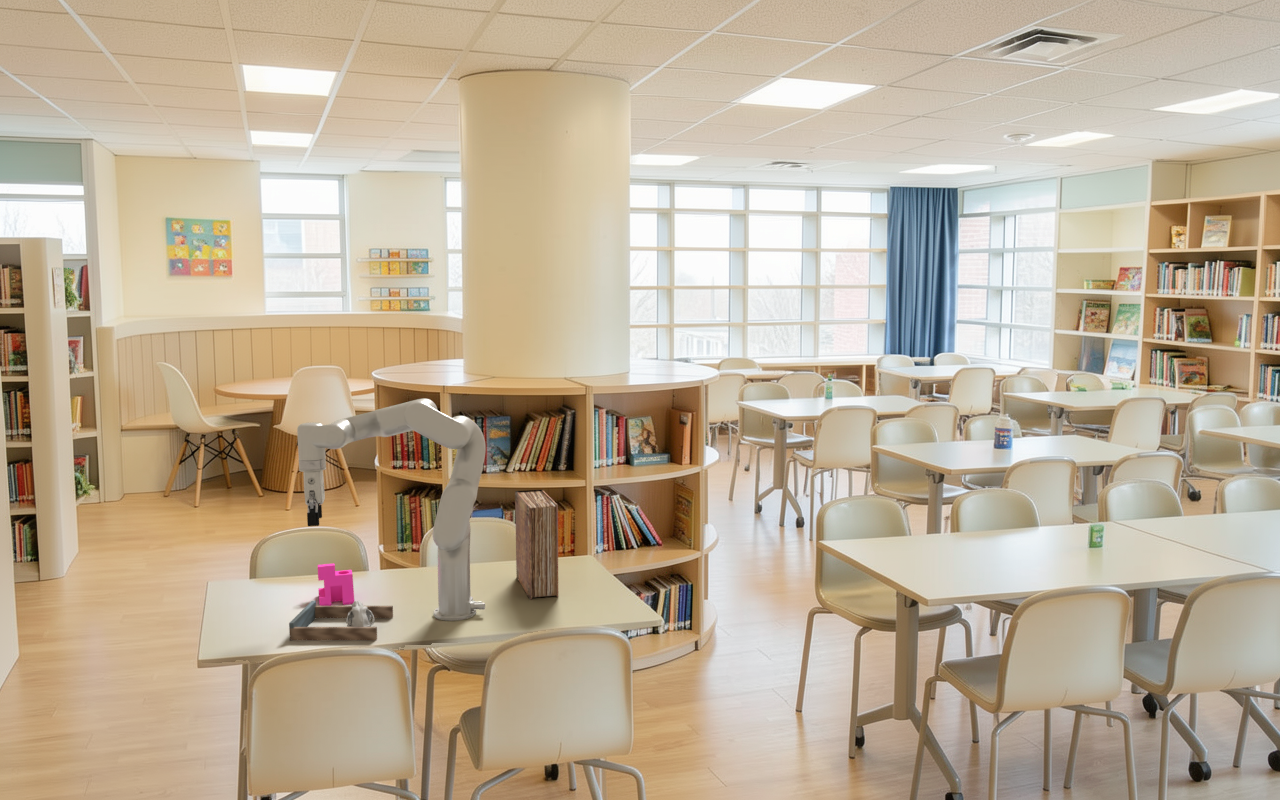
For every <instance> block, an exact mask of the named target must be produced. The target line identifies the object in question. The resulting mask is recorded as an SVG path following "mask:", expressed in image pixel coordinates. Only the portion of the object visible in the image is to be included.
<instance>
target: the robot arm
mask: <svg viewBox="0 0 1280 800" xmlns="http://www.w3.org/2000/svg"><path fill="white" fill-rule="evenodd" d="M296 430H297V431H296V433H297V449H298V451H297V452H298V471H299V472H301V473H302V472H303V493H304V501H305V502H304V503H305V505H307V512H306V521H307V527H318V526H320V519H322V518H323V509H322V508H323V504H324V501H325V499H326V495H325V494H326V493H325V481H324V480H325V479H324V478H325V477H324V471H325V470H326V469H327V460H326V459H327V458H326V457H327V456H326V449H329V450H338V449H341V448H344V447H345V446H346V445H348V444H350V443H353V442H357V441H361V440H365V439H368V438H373V437H382V438H387V437H394V436H396V435H400V434H403V433H407V432H412V431H414V432H416V433H417V434H420V435H421V436H423V437H424V438H426V439H429V440H431V441H433V442H434V443H436V444H438V445H441V446H442V447H445V448H447V449H450V450H456V455H455V457H454V462H453V467H452V471H451V475H450V477H449V481H448V483H447V484H446V487H444V489H443V491H442V494H441V496H440V500H439V504H438V508H437V512H436V515H435V516H436V517H435V520H434V524H433V529H432V540H433V542H434V543H435V545H436V546H437V589H438V590H437V591H438V593H437V594H438V598H437V599H438V607H436V608H435V609H434V610H433V613H432V614H433V617H434V618H436V619H437V620H441V621H447V622H449V621H450V622H452V621H454V622H455V621H462V620H463V621H464V620H467V619H470V618H472V617H474V616H475V615H476V613H477V610H480V611H481V610H486V602H483V601H478V600H477V601H475V600H474V597H473V596H471V522H470V519H471V516H472V511H473V509H474V508H473V507H474V505H475V503H476V501H477V497H478V491H479V490H478V489H479V485H480V482H481V481H480V480H481V478H482V477H481V476H482V473H483V469H484V468H483V467H484V462H485V457H486V448H487V447H486V441H485V439H486V438H485V436H484V433H483V432H482V429H481V428H480V426H479V425H478V424H477V423H476V422H475V421H473V420H472V419H471V418H470V417H468V416H465V415H456V416H453V417H451V416H449V415H447V414H445V413H443V412H441V411H439V410H438V407H437V405H436V403H435V402H434V401H433V400H431V399H430V398H417V399H414V400H410V401H407V402H403V403H398V404H395V405H390V406H387V407H382V408H378V409H375V410H372V411H368V412H365V413H361V414H357V415H353V416H348V417H345V418H341V419H338V420H336V421H334V422H331V423H329V424H323V423H320V422H313V421H311V422H303V423H299V425H298V426H297V429H296Z"/></svg>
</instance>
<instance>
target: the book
mask: <svg viewBox="0 0 1280 800" xmlns="http://www.w3.org/2000/svg"><path fill="white" fill-rule="evenodd" d="M514 504H515V505H514V506H515V507H514V508H515V514H514V515H515V554H516V555H515V556H516V558H515V560H516V561H515V564H516V565H515V567H516V579H517V580H518V582H519V584H520V585H521V587H522V589H523V591H524V592H525V594H526V595H527V597H528V598H529V600H530V601H531V600H532V599H533V598H541V597H542V598H543V597H544V598H545V597H553V596H556V597H557V598H558V597H559V513H558V512H559V507H558V503H556V502H555V500H554V499H553V498H552V497H550V496H549V495H548V493H546V492H545V490H543V489H528V490H516V491H515V490H514Z"/></svg>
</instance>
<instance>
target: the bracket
mask: <svg viewBox="0 0 1280 800" xmlns="http://www.w3.org/2000/svg"><path fill="white" fill-rule="evenodd" d="M353 575H354V574H353V570H352V569H344V570H336V565H335V563H323V564H317V578H318V579H317V580H318V582H319V581H320V582H321V581H323V587H321V588H320V587H319V588H318V600H319V603H318V604H319V606H332V603H334V602H342V606H349V605H352V604H353V602H355V590H354V577H353Z"/></svg>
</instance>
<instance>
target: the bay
mask: <svg viewBox="0 0 1280 800" xmlns="http://www.w3.org/2000/svg"><path fill="white" fill-rule="evenodd" d="M351 606H352V605H331V606H320V605H317V601H316V600H311V601H310V602H309V603H308V604H307V605H306V606H305V607H304V608H303V609H302V610H301V611H300V612H299V613H298V614H297V615H296V616H295V617H294V618H293V619H292V620H290V622H289V623H288V625H289V626H288V627H289V628H288V631H289V641H377V640H378V626H371V627H347V626H310V625H311V624H312V622H313V621H314V620H316V619H347V616H348V613H349V612H350V611H351V610H352V608H351ZM365 606H366V607H367V608H368V609H369V610H370V611H371V612H372V614H373V616H374V619H394V606H393V605H365ZM367 618H368V617H367ZM371 619H373V617H372V616H371Z"/></svg>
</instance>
